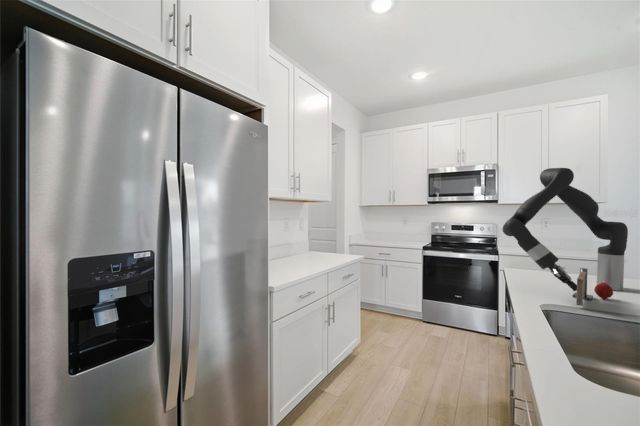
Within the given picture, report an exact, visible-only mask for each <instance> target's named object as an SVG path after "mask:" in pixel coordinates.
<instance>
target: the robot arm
mask: <svg viewBox="0 0 640 426" xmlns="http://www.w3.org/2000/svg"><path fill="white" fill-rule="evenodd" d="M574 179H575V174H574V171H573V170H572V169H571V168H568V167H551V168H546V169H544V170H542V171H541V172H540V174H539V180H540V183H541V184H542V185H543V186H544V188H543V189H542V190H541V191H538V192H537V193H535V194H534V195H532V196H531V197H529V198H527V199H526V200H525V201H524V202H523V203H522V204H520V205H519V208H517V210H515V213H514V214H513V215H512V216H511V217H510V218H509V219H507V220H506V222H505V223H504V224H503V226H502V232H503V234H504V235H506V236H508V237H514V238H515V240H516V241H517V244H518V246H519V247H520V248H521V249H522V250H523V251H524V252H525V253H526V254H527V255H528V256H529V258H530V259H531V260H533V262H534V263H536V265H538V267H539V268H540V269H541V270H545V269H547V268H548V269H549V270H550V273H551V275H553V276H554V277H555V278H556V279H558V280H559V281H561V282H562V283H563V284H565V285H567V286H568V287H569V288H570V289H571V290H572V291H573V292H577V283H575V282H574V281H573V280H572V277H571V276H570V275H569V274H568V273H567V272H566V271H565V269H564V268H563V267H562V266H561V265H558V264H557V262H558V261H559V258H558V257H557V256H556V255H555V254H554V252H552V251H551V250H550V249H548V247H546V246H545V245H544V244H543V243H541V242H540V241H539V240H538V239H537V237H535V236H534V235H532V233H531V231H530V230H529V228H528V227H527V226H526V225H527V224H528V223H529V222H530V221H531V220H532V219H533V218H534V217H535V216H536V215H537V214H538V212H539V211H540V210H541V209H542V208H544V207H545V205H547V204H548V203H549V202H550V201H551V200H553V199H554V198H555V197H558V198H559V199H560V200H561V201H562V203H564V204H565V205H566V206H567V207H568V208H569V210H571V211H572V212H573V213H574V214H575V216H577V217H579V219H580V220H581V221H582V222H583V223H584V224H585V225H586V226H587V227H588V229H589V230H590V231H591V233H592V234H593V235H594V236H595V237H596V238H597V239H600V240H604V241H605V240H607V241H609V243H608V244H607V245H603V246H598V248H597V261H596V262H597V264H596V265H597V267H596V286H597V285H598V284H600V283H602V281H605V283H606V284H608V285H609V286H610V287H611V288H612V289H613V291H618V292H621V291H622V292H623V291H624V275H625V273H624V272H625V252H626V249H627V245H628V244H627V243H628V238H629V237H628V236H629V231H628V226H627V224H625V222H620V221H607V220H606V221H605V220H603V219H602V218H601V217H599V215H598V214H599V208H600V207H599V204H598V203H597V202H596V201H595V200H594V198H593V197H592V196H590V195H589V194H587V193H586V192H585V191H583V190H580V189H578V188H576V187H574V186H572V185H571V184H572V183H573V181H574Z"/></svg>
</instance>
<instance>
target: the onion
mask: <svg viewBox="0 0 640 426" xmlns="http://www.w3.org/2000/svg"><path fill="white" fill-rule="evenodd" d="M593 290H594V293H595V294H596V296H598V297H599V298H600V299H602V300H606V299H609V298H611V297H612V296H613V295H614V290H613V289H612V288H611V287H610V286H609V285H608V284H606V283H605V281H602V283H600V284H598V285H597V284H596V285H595V287H594V289H593Z"/></svg>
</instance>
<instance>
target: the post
mask: <svg viewBox="0 0 640 426" xmlns="http://www.w3.org/2000/svg"><path fill="white" fill-rule="evenodd" d="M581 271H582V272H586V286H585V297H584V299H583V301H585V300H586V301H590V302H591V301H592V300H593V299H594V295H593V294H588V291H587V290H588V268H585V267H580V268H579V273H580V272H581ZM572 298H574V299H577V291H574V293H573V294H572Z"/></svg>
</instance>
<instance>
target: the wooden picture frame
mask: <svg viewBox="0 0 640 426" xmlns="http://www.w3.org/2000/svg"><path fill="white" fill-rule="evenodd" d="M576 285H577V290H576V293H577V298H576V299H575V300H576V302H575V305H576V306H580V307H583V306H584V297H585V286H586V272H582V271H581V272H580V271H579V275H578V276H577V278H576Z"/></svg>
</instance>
